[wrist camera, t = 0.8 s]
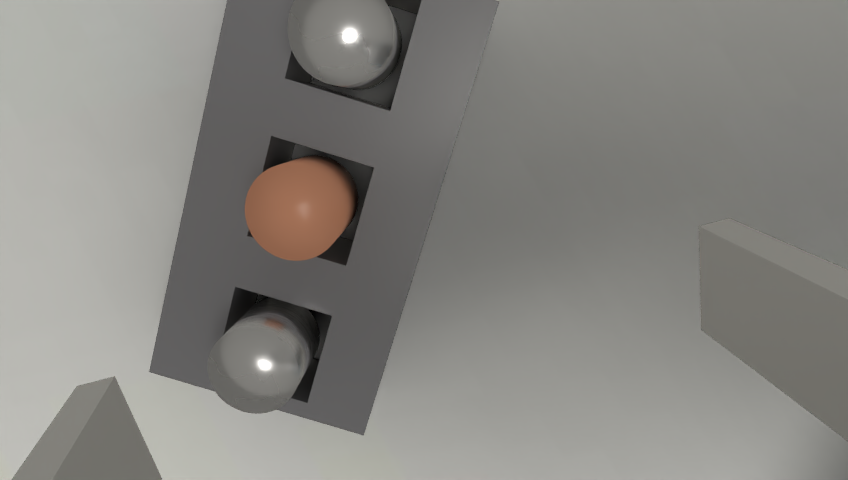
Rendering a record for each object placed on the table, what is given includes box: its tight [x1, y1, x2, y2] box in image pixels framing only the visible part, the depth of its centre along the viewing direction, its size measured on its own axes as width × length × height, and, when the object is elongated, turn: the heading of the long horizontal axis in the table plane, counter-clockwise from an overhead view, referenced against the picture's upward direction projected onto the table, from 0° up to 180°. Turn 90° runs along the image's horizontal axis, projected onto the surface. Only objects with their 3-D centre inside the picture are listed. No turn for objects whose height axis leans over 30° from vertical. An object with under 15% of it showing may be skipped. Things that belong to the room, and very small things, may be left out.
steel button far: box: [207, 298, 320, 413], centre depth 29 cm, size 4×4×4 cm
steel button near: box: [288, 0, 402, 90], centre depth 26 cm, size 4×4×4 cm
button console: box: [149, 0, 499, 435], centre depth 31 cm, size 12×23×5 cm, turn 163°
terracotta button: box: [245, 155, 358, 261], centre depth 28 cm, size 4×4×4 cm
